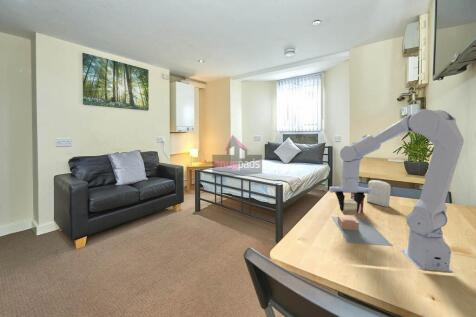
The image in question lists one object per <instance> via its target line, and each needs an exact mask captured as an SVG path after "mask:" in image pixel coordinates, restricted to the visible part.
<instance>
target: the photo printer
mask: <svg viewBox="0 0 476 317" xmlns="http://www.w3.org/2000/svg"><path fill="white" fill-rule="evenodd" d="M391 186H392V185H391V184H390V183H388V182H385V181H382V180H378V179H377V180H374V179H373V180H369V181H368V183H367V188H370V189H371V194H367V193H366V194H367V195H366V202H368V203H371V204H375V205H377V206H381V207H385V208H387V207H389V206H390V198H391V188H392V187H391Z"/></svg>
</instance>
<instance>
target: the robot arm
mask: <svg viewBox="0 0 476 317" xmlns="http://www.w3.org/2000/svg"><path fill="white" fill-rule="evenodd" d="M408 132H411V133H412V132H415V133H416V134H419V135H421V136H423V137H425V138H426V139H427V140H428V141H430V143H431V144H432V145H433V151H432V155H431V157H430V161H429V165H428V168H427V173H426V176H425V179H424V182H423V185H422V190H421V194H420V198H419V199H418V201H417V202H416V203H415V205H414V206H413V208H412V211H411V212H410V213H409V214H408V215H407V216H406V218H405V220H406V224H407V226H408V228H409V231H408V241H407V243H408V244H407V249H402V248H401V249H400V251H401V252H402V253H403V254H404V256H406V258H408V259H409V260H410V261H411V262H412V263H413V264H414V265H415V266H416V267H417V268H418V269H420V270H428V271H429V270H430V271H439V272H451V273H453V269H451V268H450V262H451V255H452V249H451V248H450V246H449V244H447V243H446V241H445V240H444V236H443V234H444V233H443V231H442V228H443V227H445V226H446V225H447V223H448V216H447V208H448V207H447V205H446V199H447V196H448V193H449V189H450V188H451V187H450V186H451V183H452V180H453V176H454V174H455V171H456V169H457V168H456V167H457V165H458V161H459V158H460V155H461V152H462V149H463V146H464V137H463V135H462V133H461V131H460V129H459V127H458V125H457V119H456V117H454V116H453V115H452V114H450V113H449V112H447V111H445V110H442V109H441V110H440V109H436V110H433V109H428V108H427V109H426V108H421V109H418V110H416V111H414V112H413V113H412V114H409V115H405V116H404V117H403V118H402V119H400V120H398V121H397V122H395V123H394V124H391V125H390V126H388V127H387V128H386V129H383V130H382V131H381V132H378V133H377V134H375V135H373V134H365V135H363V136H362V138H361V139H360V140H357V141H354V142H352V143H351V145H345V146H343V147H342V148H340V149H341V150H339V151H340V152H339V156H340V159H342V173H341V174H342V175H341V185H337V186H328V187H329V188H328V190H329V191H328V192H329V193H333V194H335V196H336V198H337V201H338V205H339V210H340V212H341V211H343V209H344V199H346V196H345V195H344V193H345V194H346V193H349V194H351V193H354V201H355V202H357V211H358V208H359V205H360V203H361V202H362V200H363V199H365V198H366V194H371V189H370V188H368V187H363V186H359V183H360V182H359V181H360V180H359V179H360V178H359V177H360V168H361V166H360V165H361V161H362V159H363V158H364V157H365V156H367V155H369V154H371V153H373V152H376V151H379V149H380V148H381V146H382V144H383V143H386V142H387V141H389V140H392V139H394V138H397V137H399V136H401V135H403V134H405V133H408Z"/></svg>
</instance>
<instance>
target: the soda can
mask: <svg viewBox="0 0 476 317" xmlns="http://www.w3.org/2000/svg"><path fill="white" fill-rule="evenodd" d="M350 199H353V200H354V193H350ZM364 199H365V198H364ZM364 199H363V200H362V202H361V203H360V205H359V208H358V211H357V214H363V213H364V201H365V200H364Z"/></svg>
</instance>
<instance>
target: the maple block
mask: <svg viewBox="0 0 476 317" xmlns="http://www.w3.org/2000/svg"><path fill="white" fill-rule="evenodd" d="M340 212H341V213H342V214H343V216H353V217H354V216H357V202H355V201H354V200H353V199H351V198H344V209H343V211H341V210H340Z"/></svg>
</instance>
